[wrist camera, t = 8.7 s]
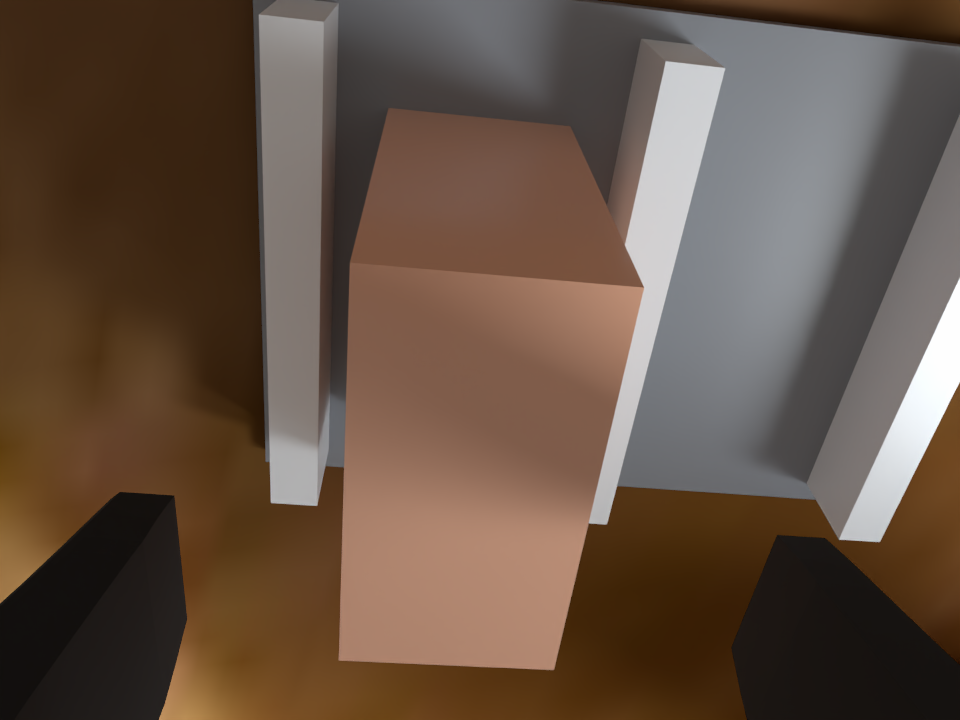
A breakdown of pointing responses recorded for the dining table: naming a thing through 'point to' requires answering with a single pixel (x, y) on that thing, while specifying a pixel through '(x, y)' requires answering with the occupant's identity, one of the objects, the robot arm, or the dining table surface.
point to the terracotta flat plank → (476, 390)
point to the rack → (652, 227)
